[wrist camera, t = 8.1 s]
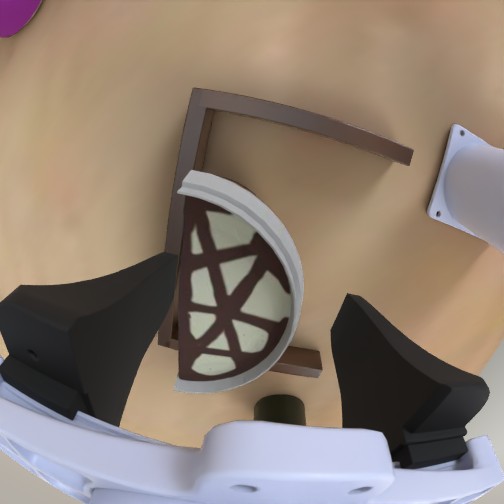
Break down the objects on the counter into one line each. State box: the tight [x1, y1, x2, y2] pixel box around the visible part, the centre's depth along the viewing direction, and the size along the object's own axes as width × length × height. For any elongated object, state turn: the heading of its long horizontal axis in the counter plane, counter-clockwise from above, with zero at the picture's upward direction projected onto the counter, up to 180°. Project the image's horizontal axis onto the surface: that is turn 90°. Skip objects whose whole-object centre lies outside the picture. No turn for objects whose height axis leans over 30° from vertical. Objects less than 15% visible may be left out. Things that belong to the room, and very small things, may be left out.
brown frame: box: [158, 88, 414, 378], centre depth 21 cm, size 15×20×2 cm
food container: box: [174, 170, 304, 394], centre depth 17 cm, size 12×6×10 cm, turn 171°
